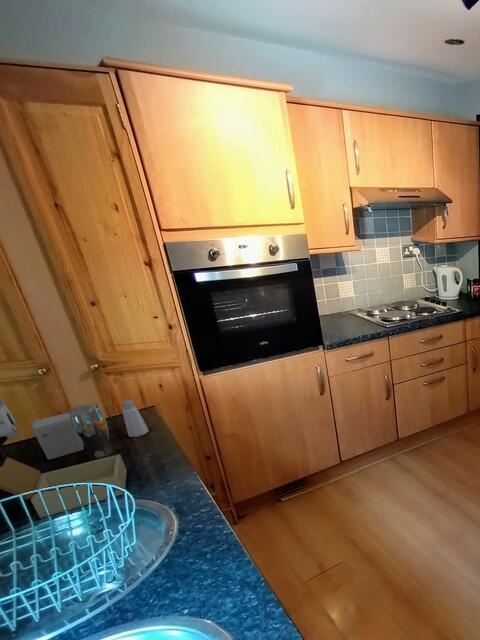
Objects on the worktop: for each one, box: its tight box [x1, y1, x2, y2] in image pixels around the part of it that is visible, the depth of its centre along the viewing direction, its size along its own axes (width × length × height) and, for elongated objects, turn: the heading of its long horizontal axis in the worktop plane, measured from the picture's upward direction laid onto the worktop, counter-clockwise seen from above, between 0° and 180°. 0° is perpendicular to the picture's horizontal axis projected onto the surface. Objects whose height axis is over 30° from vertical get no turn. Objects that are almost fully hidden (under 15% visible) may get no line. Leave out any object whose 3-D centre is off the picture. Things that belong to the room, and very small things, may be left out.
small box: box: [31, 412, 85, 461], centre depth 130 cm, size 8×6×10 cm
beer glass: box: [67, 403, 118, 461], centre depth 127 cm, size 7×7×15 cm
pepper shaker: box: [120, 399, 149, 438], centre depth 140 cm, size 5×5×11 cm
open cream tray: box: [30, 453, 127, 519], centre depth 113 cm, size 16×13×5 cm
